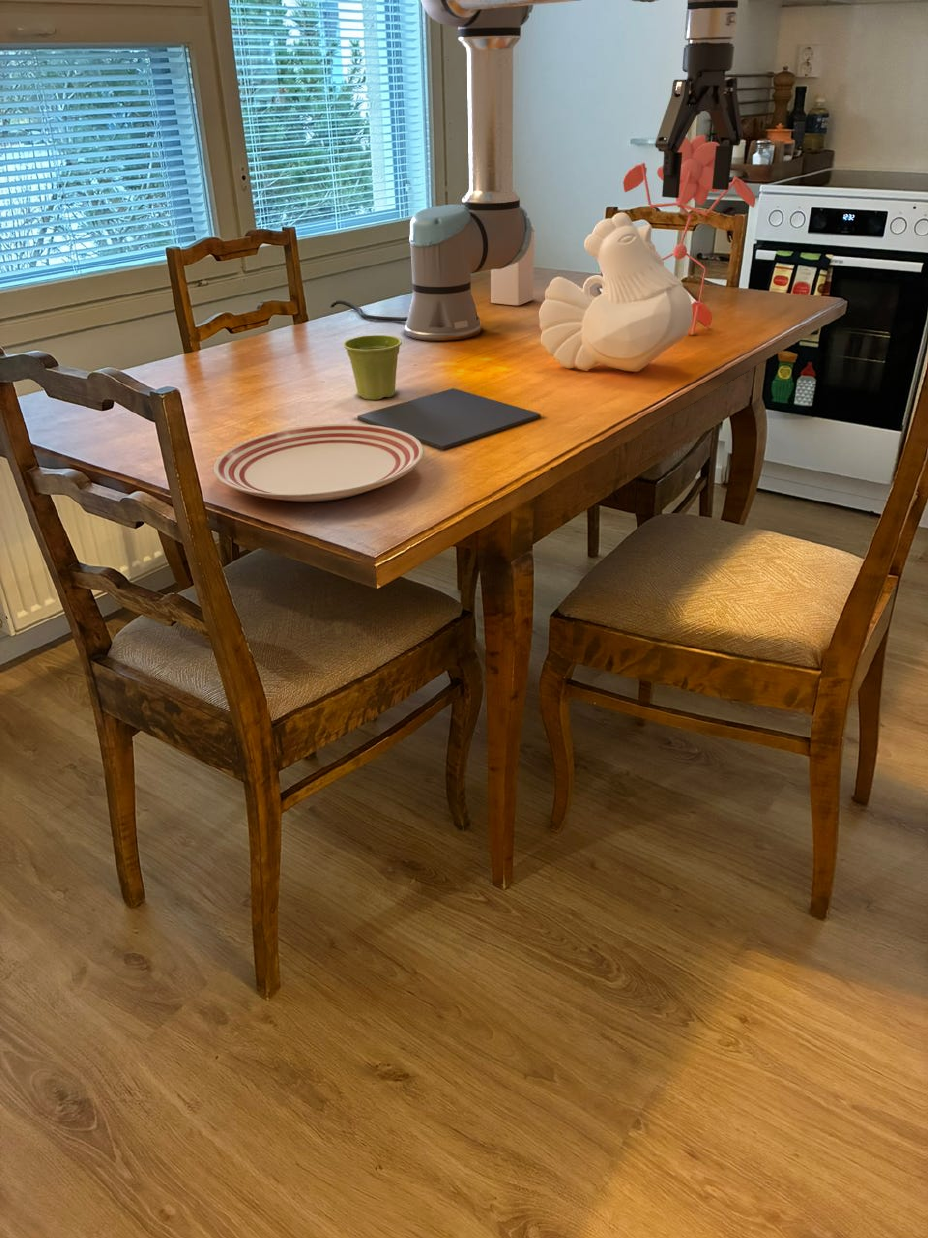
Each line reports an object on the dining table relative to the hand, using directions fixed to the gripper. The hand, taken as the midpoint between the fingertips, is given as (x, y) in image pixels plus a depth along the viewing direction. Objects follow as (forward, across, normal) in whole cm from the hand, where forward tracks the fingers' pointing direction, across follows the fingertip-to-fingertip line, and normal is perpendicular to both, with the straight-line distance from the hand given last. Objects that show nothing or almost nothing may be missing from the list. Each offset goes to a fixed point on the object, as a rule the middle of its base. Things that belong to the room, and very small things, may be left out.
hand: (695, 193), depth 157 cm
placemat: (+28, -49, +7) cm, 57 cm away
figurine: (+28, +23, +17) cm, 40 cm away
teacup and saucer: (+28, +42, +40) cm, 65 cm away
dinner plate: (+28, -77, +1) cm, 82 cm away
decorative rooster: (+28, -10, +7) cm, 31 cm away
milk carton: (+28, +16, +59) cm, 68 cm away
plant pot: (+28, -49, +25) cm, 62 cm away
